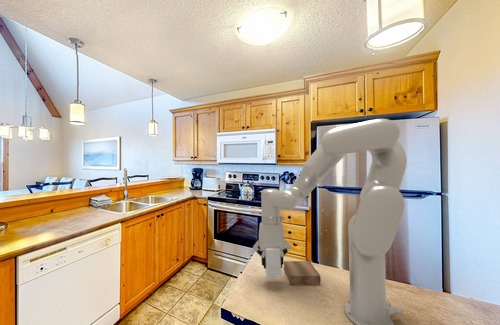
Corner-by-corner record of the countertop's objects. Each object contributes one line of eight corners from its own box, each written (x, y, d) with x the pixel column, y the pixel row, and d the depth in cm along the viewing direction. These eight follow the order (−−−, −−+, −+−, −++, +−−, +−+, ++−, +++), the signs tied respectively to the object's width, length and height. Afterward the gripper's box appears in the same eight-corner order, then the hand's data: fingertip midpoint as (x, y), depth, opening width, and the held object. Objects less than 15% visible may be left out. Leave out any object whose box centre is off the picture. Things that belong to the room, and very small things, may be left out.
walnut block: (309, 269, 84) (309, 260, 84) (320, 286, 72) (320, 276, 72) (283, 269, 83) (284, 261, 84) (290, 286, 71) (290, 276, 72)
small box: (281, 278, 67) (280, 249, 68) (266, 279, 67) (265, 249, 68) (278, 267, 75) (277, 241, 76) (265, 267, 75) (264, 241, 76)
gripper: (290, 217, 76) (291, 261, 75) (249, 218, 76) (250, 262, 75) (295, 221, 69) (296, 270, 68) (250, 223, 68) (251, 272, 67)
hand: (272, 266), depth 71 cm, fingers closed on small box, 5 cm apart
